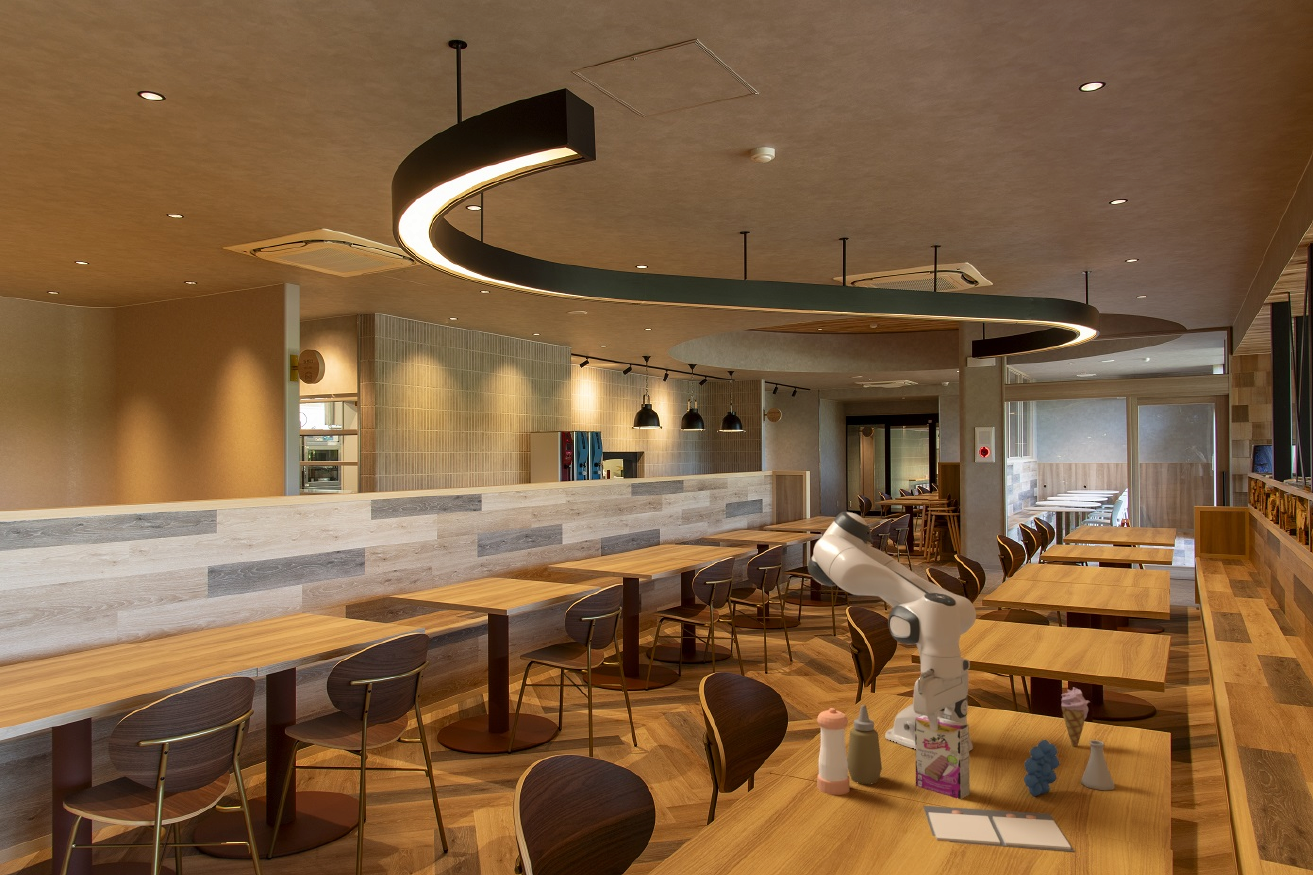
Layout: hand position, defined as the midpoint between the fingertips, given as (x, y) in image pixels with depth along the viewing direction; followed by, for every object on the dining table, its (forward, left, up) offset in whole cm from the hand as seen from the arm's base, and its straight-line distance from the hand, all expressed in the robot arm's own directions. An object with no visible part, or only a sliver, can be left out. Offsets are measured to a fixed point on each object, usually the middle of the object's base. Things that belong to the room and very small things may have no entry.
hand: (941, 725), depth 194 cm
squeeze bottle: (-16, -7, -15) cm, 23 cm away
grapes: (+16, +15, -15) cm, 27 cm away
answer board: (+17, -11, -15) cm, 25 cm away
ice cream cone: (+11, +53, -15) cm, 56 cm away
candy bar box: (0, 0, -15) cm, 15 cm away
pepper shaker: (-18, -17, -15) cm, 29 cm away
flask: (+24, +29, -15) cm, 41 cm away
